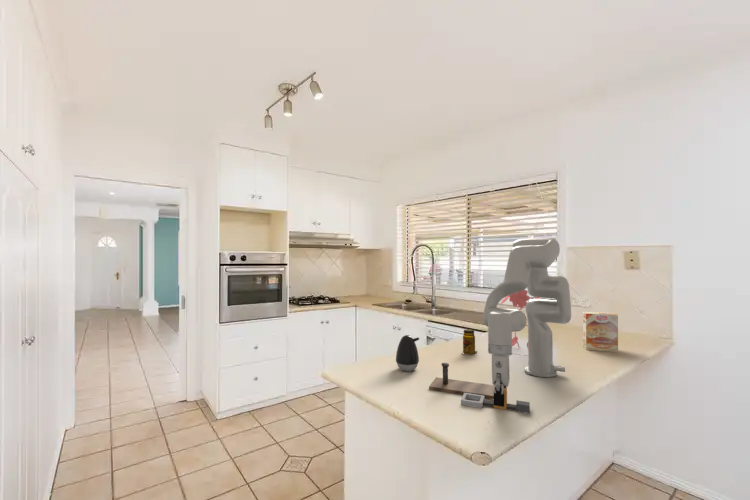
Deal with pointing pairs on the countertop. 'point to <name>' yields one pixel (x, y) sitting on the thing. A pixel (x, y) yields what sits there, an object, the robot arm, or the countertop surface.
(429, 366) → the countertop surface
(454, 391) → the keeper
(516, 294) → the red flower sprig
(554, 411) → the countertop surface
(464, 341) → the condiment
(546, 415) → the countertop surface
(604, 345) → the coffeecake box
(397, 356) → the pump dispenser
